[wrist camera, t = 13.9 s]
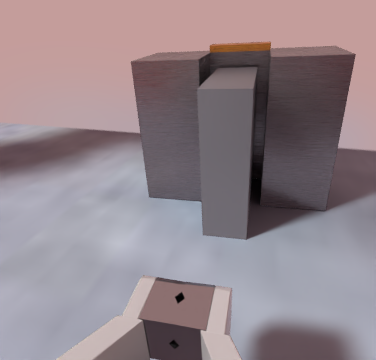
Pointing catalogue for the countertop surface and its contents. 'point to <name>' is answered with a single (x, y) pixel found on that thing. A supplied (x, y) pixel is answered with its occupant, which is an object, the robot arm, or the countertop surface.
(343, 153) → the countertop surface
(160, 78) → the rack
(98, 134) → the countertop surface
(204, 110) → the grey block
